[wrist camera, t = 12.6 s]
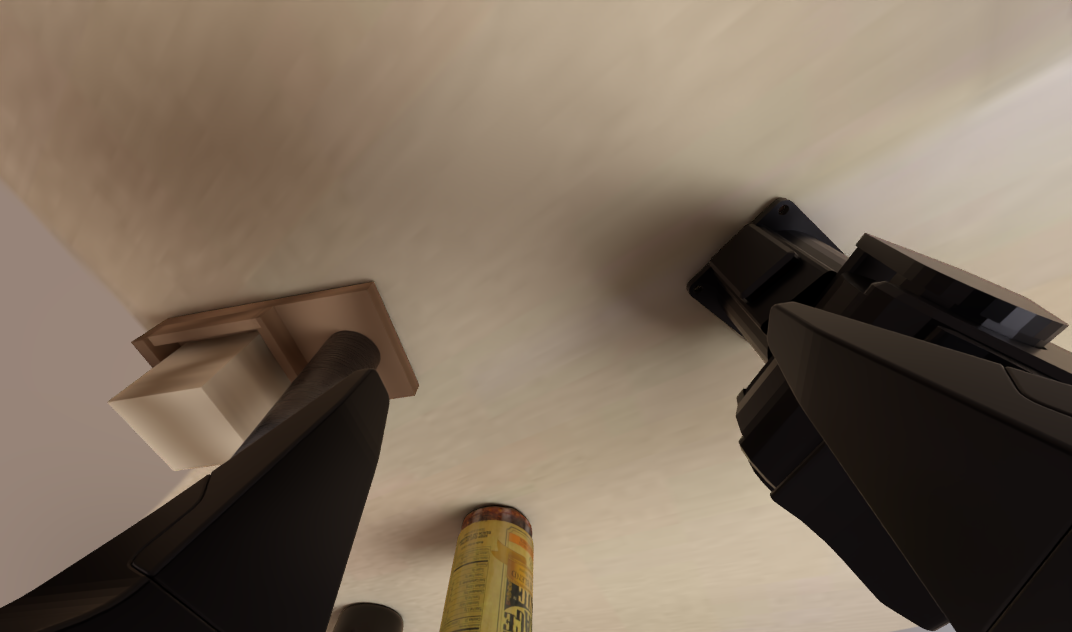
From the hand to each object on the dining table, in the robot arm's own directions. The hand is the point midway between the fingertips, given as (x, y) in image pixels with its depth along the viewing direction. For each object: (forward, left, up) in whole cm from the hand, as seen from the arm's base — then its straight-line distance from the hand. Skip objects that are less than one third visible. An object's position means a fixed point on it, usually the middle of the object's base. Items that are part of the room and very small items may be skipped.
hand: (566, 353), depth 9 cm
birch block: (+9, +19, -12) cm, 24 cm away
